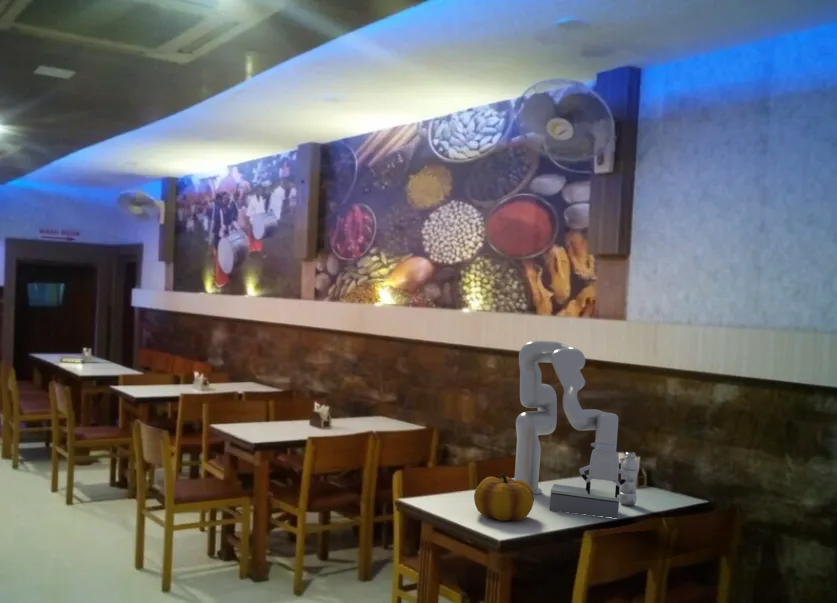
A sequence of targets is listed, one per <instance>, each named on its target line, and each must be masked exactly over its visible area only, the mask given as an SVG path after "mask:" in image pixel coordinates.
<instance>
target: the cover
mask: <svg viewBox="0 0 837 603" xmlns="http://www.w3.org/2000/svg"><path fill="white" fill-rule="evenodd" d="M551 493H558V494H566V495H573V496H581V497H588V498H595V499H603V500H610V501H618V502H619V496H620V492H619V495H617V498H616V497H615V491H609V490H603V489H595V488H590V494H587V493H588V491H586V487H579V486H571V485H565V484H557V483H553V485H552V487H551V489H550V494H551ZM619 503H620V502H619Z"/></svg>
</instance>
